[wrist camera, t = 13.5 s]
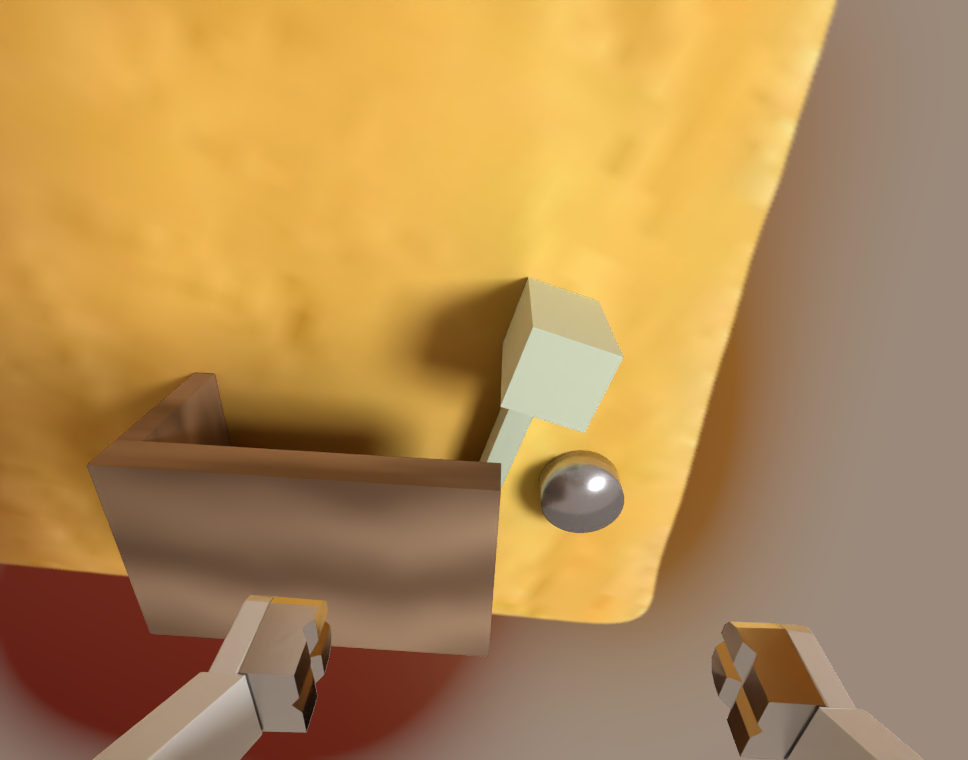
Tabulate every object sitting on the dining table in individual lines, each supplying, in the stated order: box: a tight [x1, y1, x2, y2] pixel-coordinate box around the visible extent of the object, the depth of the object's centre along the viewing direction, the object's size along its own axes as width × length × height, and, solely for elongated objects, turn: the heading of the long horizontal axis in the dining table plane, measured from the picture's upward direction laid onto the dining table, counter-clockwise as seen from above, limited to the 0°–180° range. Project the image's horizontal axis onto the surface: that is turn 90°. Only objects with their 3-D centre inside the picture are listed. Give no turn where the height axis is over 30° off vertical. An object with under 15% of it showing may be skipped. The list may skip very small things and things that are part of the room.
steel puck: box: [540, 451, 624, 533], centre depth 33 cm, size 5×5×2 cm
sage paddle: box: [479, 277, 623, 487], centre depth 28 cm, size 16×4×7 cm, turn 161°
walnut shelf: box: [87, 373, 501, 657], centre depth 30 cm, size 11×18×9 cm, turn 87°
